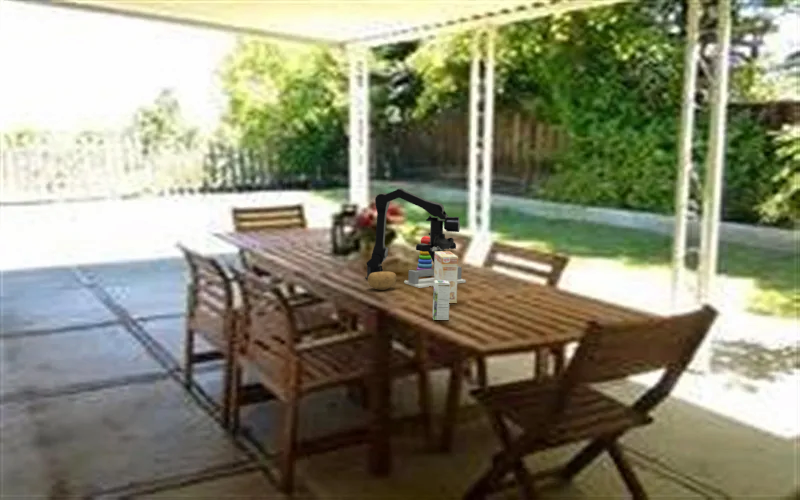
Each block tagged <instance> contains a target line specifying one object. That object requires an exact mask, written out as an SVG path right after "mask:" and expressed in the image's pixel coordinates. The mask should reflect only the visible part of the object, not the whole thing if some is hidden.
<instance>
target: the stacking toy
mask: <svg viewBox="0 0 800 500" xmlns="http://www.w3.org/2000/svg"><path fill="white" fill-rule="evenodd" d="M428 242H430V236H429V235H428V236H426V235H424V236H422V237H421V238H420V244H422V243H424V244H428ZM428 245H430V244H428ZM418 257H419V258H418V261H417V262H418V263H417V267H416V271H417V270H427V269H433V263H432V262H433V260H432V258H431V256H430V254H429V252H428V251H425V252H422V251H419V255H418ZM424 277H427V276H424Z"/></svg>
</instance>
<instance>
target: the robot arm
mask: <svg viewBox="0 0 800 500" xmlns="http://www.w3.org/2000/svg"><path fill="white" fill-rule="evenodd" d="M374 198H375V199H374V200H375V201H374V202H375V208H376V210H375V211H376V214H377V215H376V229H375V230H376V231H375V243H374V247H373V250H372V254H371V258H369V260H368V261H367V262H366V266H367V267H366V277H364V278H365V279H367V280H368V276H369V275H370V274H371V273H374V272H384V269H383V265H382V264H383V262H385V261H386V259H387V257H388V256H389V254H388V252H389V247H386V244H385V240H386V226H387V225H386V224H387V213H388V210H389V207H390V204H391V202H392V201H394V200H397V199H402V200H404V201H406V202H409V203H410V204H413V205H415V206H417V207H419V208H421V209H423V210H424V211H425V212H427V213H428V214H429V216H428V218H426V219H425V221H426V222H430V223H429V224H430V226H429V229H430V231H429V232H428V236H429V237H430V242H428V244H430V245H428V244H424V243H422V244H421V243H417V244H416V246H415V250H416V251H419V252H420V251H422V252H425V251H428V252H429V254H430V256H431V260H432V262H433V263H432V264H434V257H435V251H447V250H456V249H457V243H456V242H454V238H453V237H448V238H447V237H446V234H445V233H444V230H445V231H446V232H449V233H450V232H451V233H452V232H453V233H460V229H461V223H460V216H449V215H448V214H447V213H446V212H447V211H445V206H444V205H443V203H441V202H437V201H433V200H428V199H426V198H423V197H421V196H418V195H416V194H414V193H412V192H409V191H408V190H406V189H404V188H397V189H396V190H393V191H390V192H388V193H387V192H382V193H379V194H377V195H376V197H374Z"/></svg>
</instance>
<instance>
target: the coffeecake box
mask: <svg viewBox="0 0 800 500" xmlns="http://www.w3.org/2000/svg"><path fill="white" fill-rule="evenodd" d="M458 266H459V257H458V255H456V254H454V253H453V252H451V251H449V250H448V251H447V250H446V251H435V257H434V263H433V269H434V281H435V280H446V281H449V283H450V301H449V303H458V297H457V296H458V283H457V276H458Z"/></svg>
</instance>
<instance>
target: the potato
mask: <svg viewBox="0 0 800 500" xmlns="http://www.w3.org/2000/svg"><path fill="white" fill-rule="evenodd" d="M396 282H397V274H396V273H395V272H393V271H383V272H374V273H371V274H370V275H369V276H368V279H367V283H368V285H369V286H370V288H372V289H375V290H380V291H384V290H385V291H386V290H388V289H389V288H391V287H392V286H393V285H395V283H396Z"/></svg>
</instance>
